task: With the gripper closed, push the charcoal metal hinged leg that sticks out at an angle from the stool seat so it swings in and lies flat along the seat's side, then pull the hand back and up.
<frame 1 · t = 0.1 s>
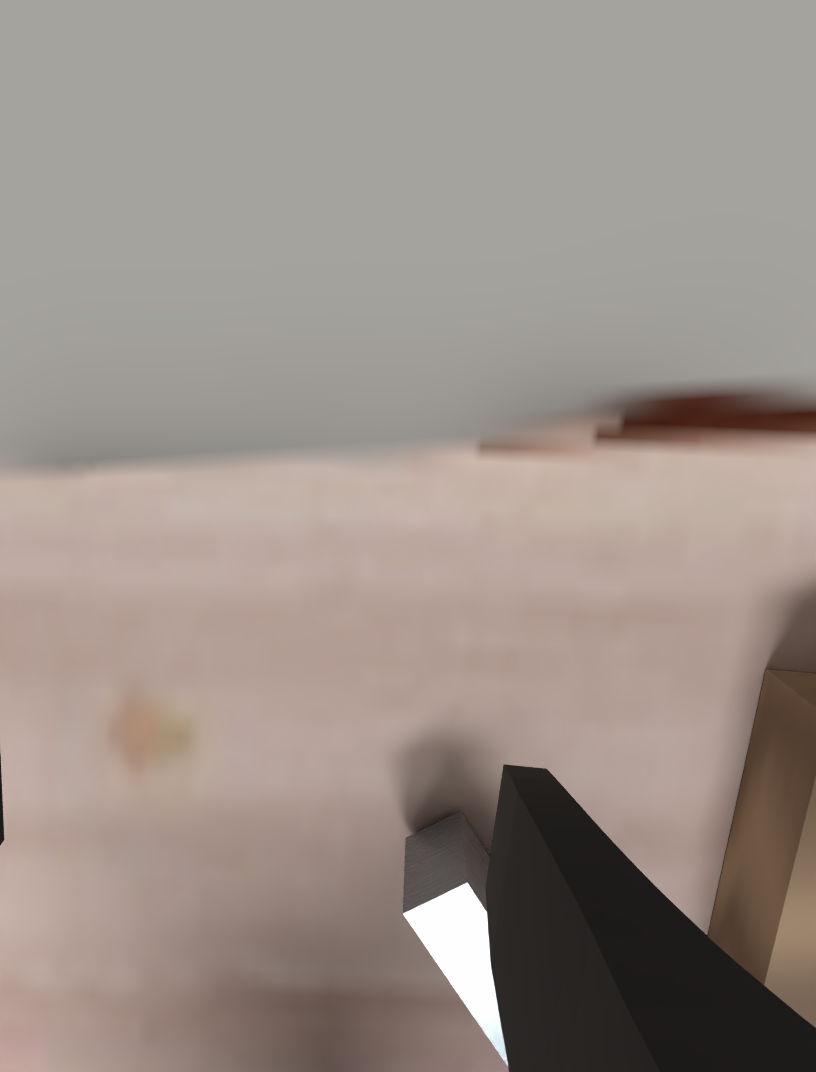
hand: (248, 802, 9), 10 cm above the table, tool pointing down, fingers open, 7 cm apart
hinged leg: (554, 1046, 19), point 2 cm above the table, hinge at 35.0°
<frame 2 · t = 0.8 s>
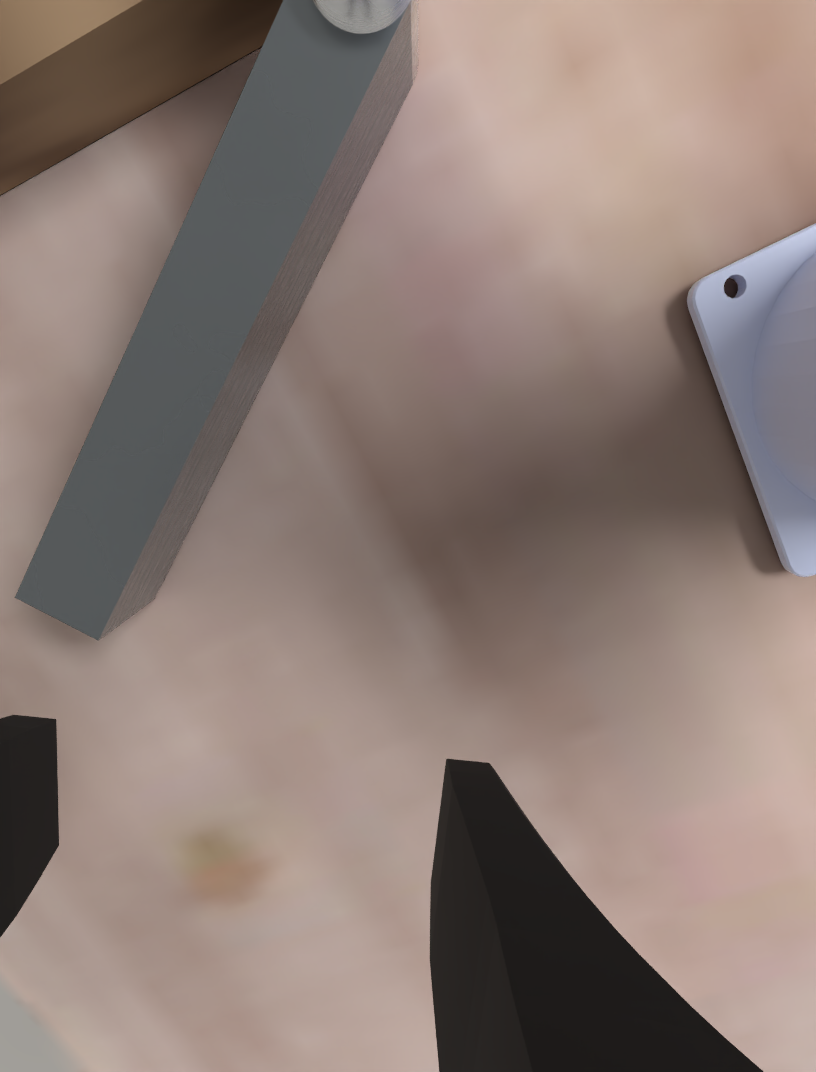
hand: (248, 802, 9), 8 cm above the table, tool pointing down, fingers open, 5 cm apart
hinged leg: (223, 314, 14), point 2 cm above the table, hinge at 35.0°
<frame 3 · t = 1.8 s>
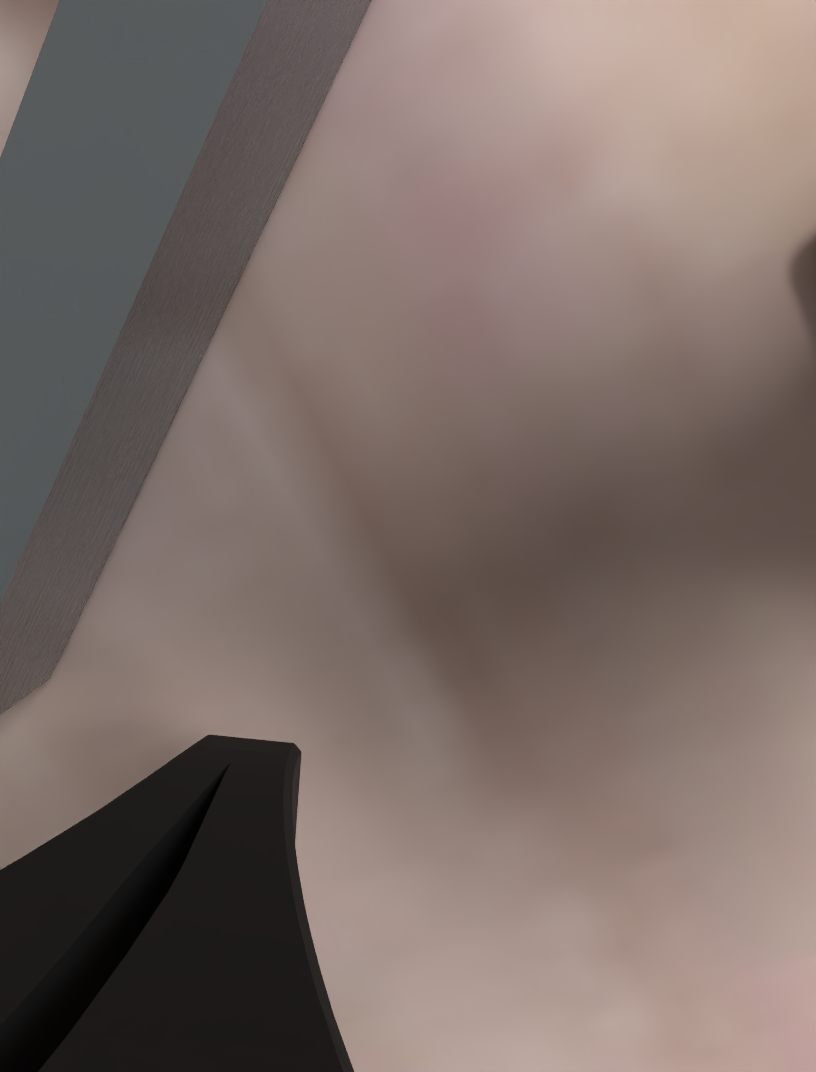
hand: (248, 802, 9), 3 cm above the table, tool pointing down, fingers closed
hinged leg: (116, 261, 9), point 2 cm above the table, hinge at 35.0°
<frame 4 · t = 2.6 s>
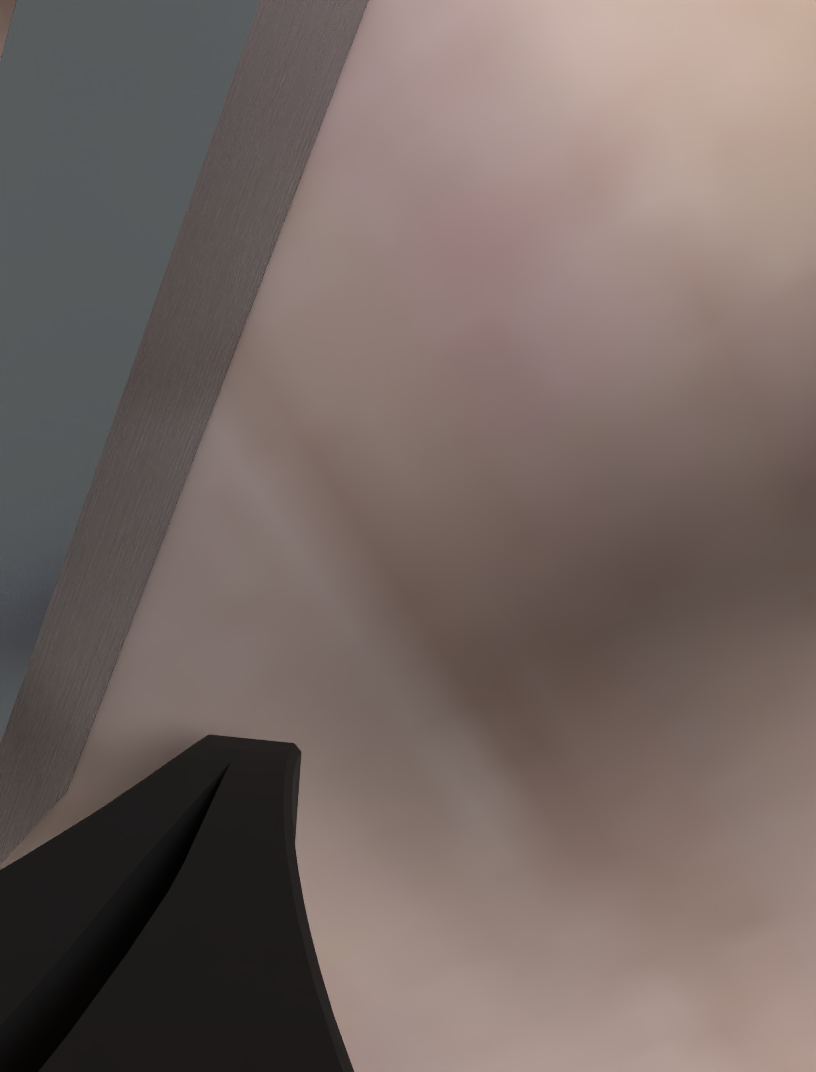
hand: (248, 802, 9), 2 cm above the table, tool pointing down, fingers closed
hinged leg: (98, 342, 7), point 2 cm above the table, hinge at 35.0°
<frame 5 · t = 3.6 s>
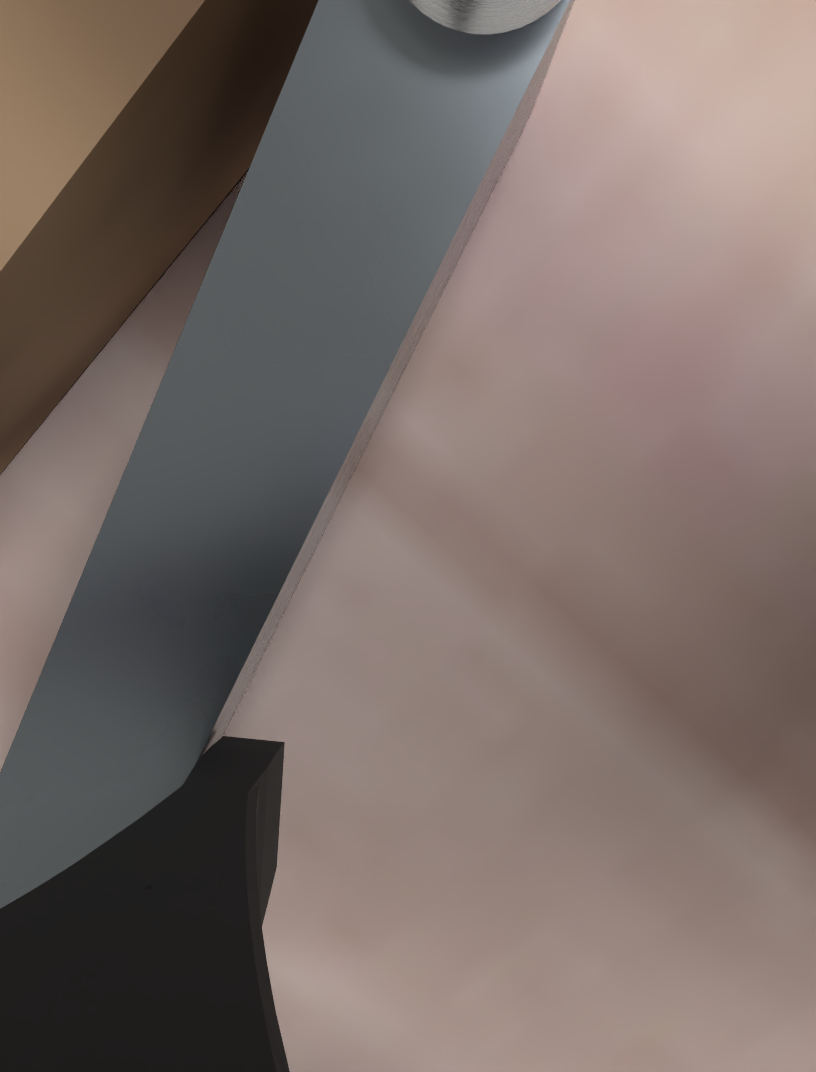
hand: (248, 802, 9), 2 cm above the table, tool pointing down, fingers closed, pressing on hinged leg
hinged leg: (230, 526, 8), point 2 cm above the table, hinge at 16.7°, touching gripper
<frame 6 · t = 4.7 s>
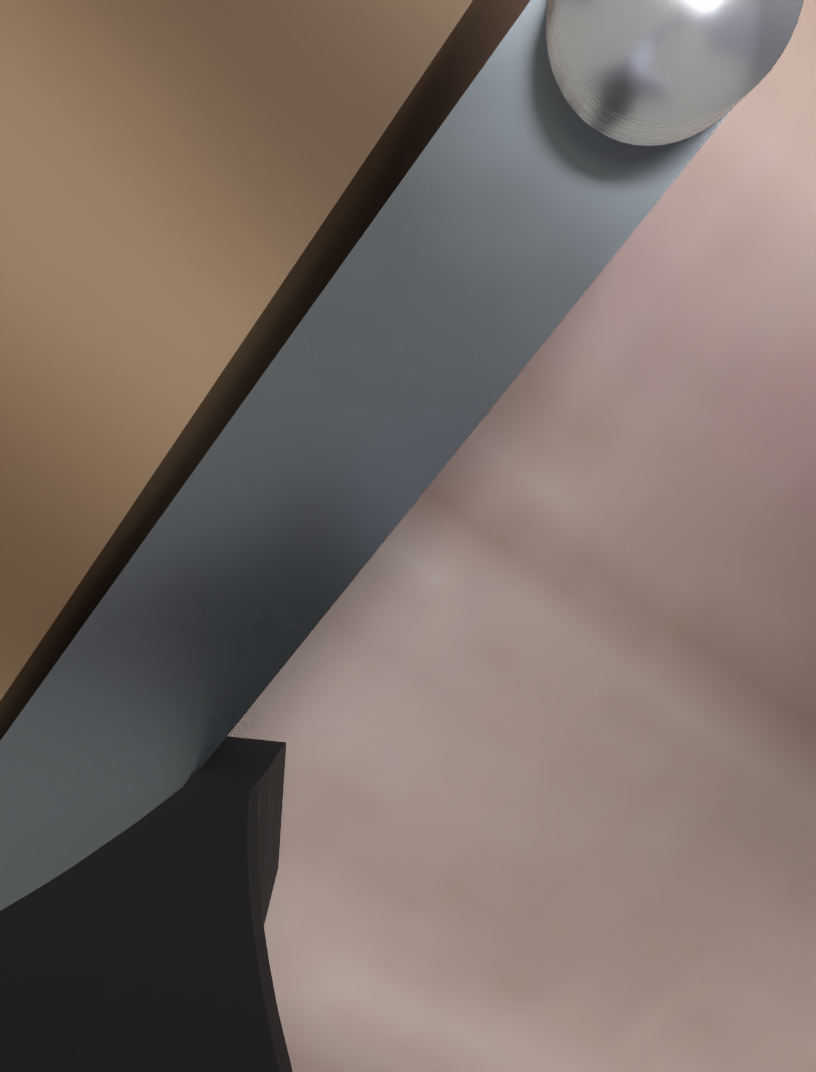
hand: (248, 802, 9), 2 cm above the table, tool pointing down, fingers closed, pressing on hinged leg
hinged leg: (267, 545, 8), point 2 cm above the table, hinge at -1.0°, touching gripper
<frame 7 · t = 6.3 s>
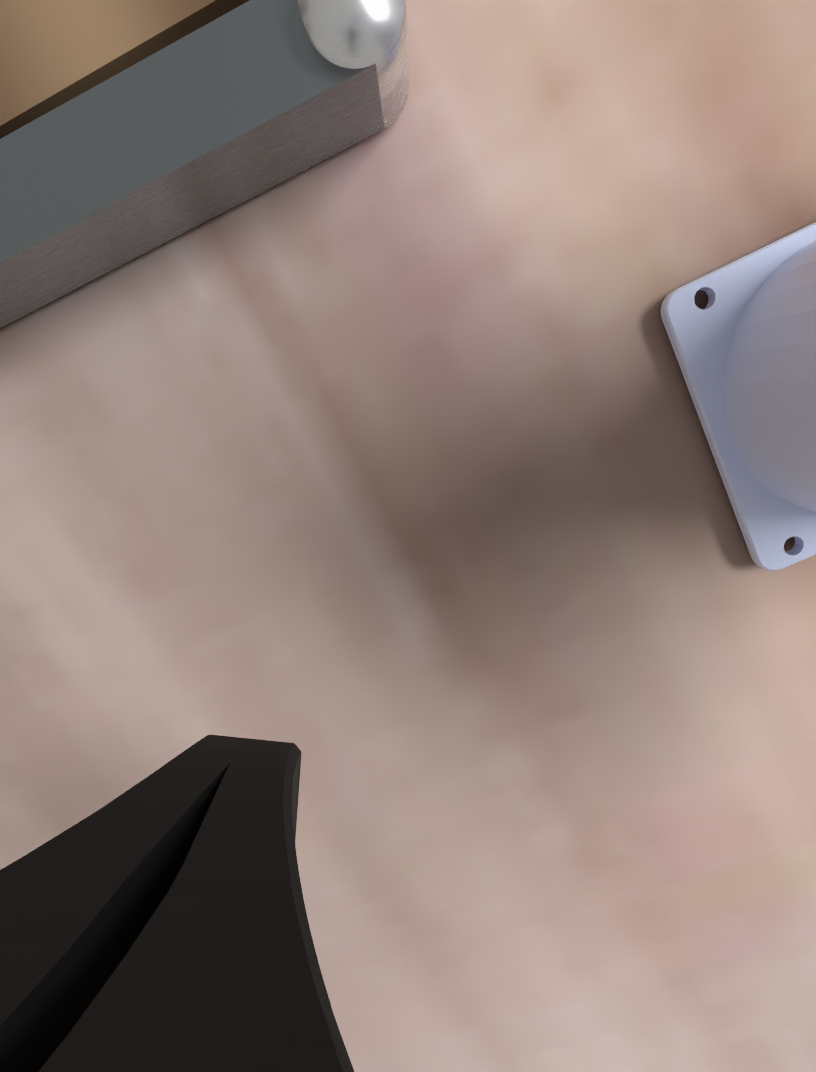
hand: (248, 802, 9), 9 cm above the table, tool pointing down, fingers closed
hinged leg: (97, 186, 14), point 2 cm above the table, hinge at -0.9°
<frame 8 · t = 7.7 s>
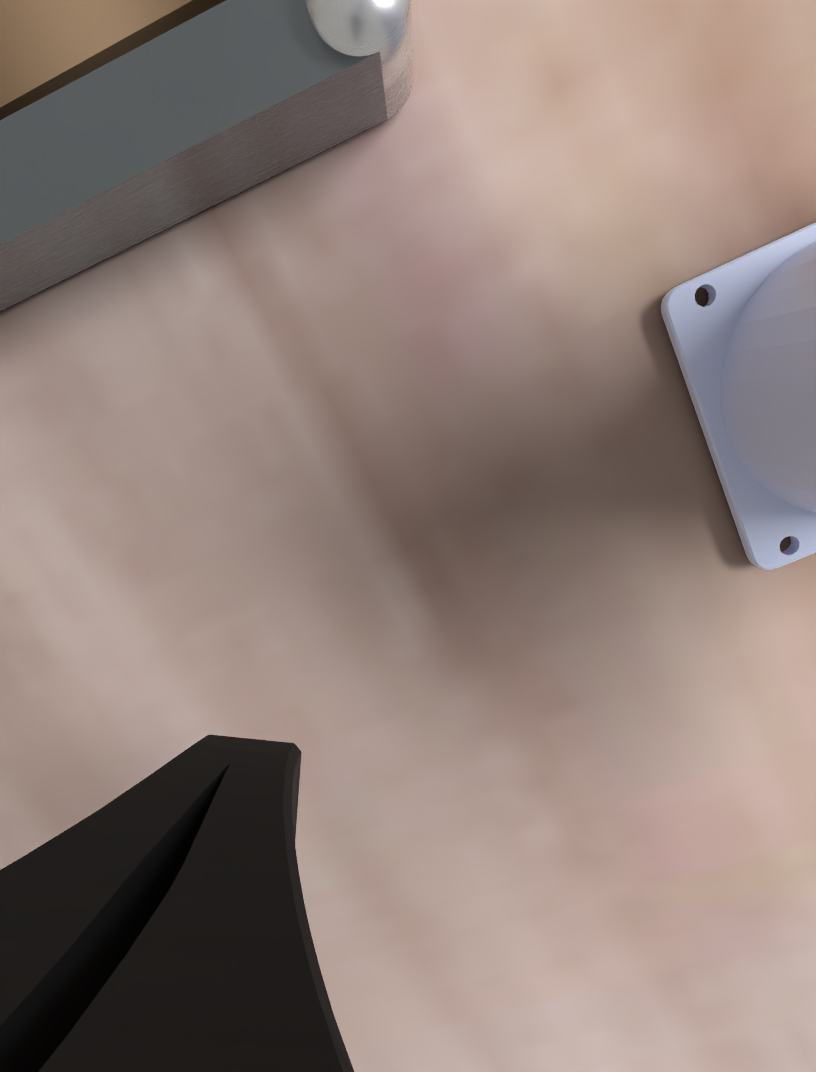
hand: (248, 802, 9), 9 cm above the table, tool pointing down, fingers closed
hinged leg: (98, 170, 14), point 2 cm above the table, hinge at -0.9°
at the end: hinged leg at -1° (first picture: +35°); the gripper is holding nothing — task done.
